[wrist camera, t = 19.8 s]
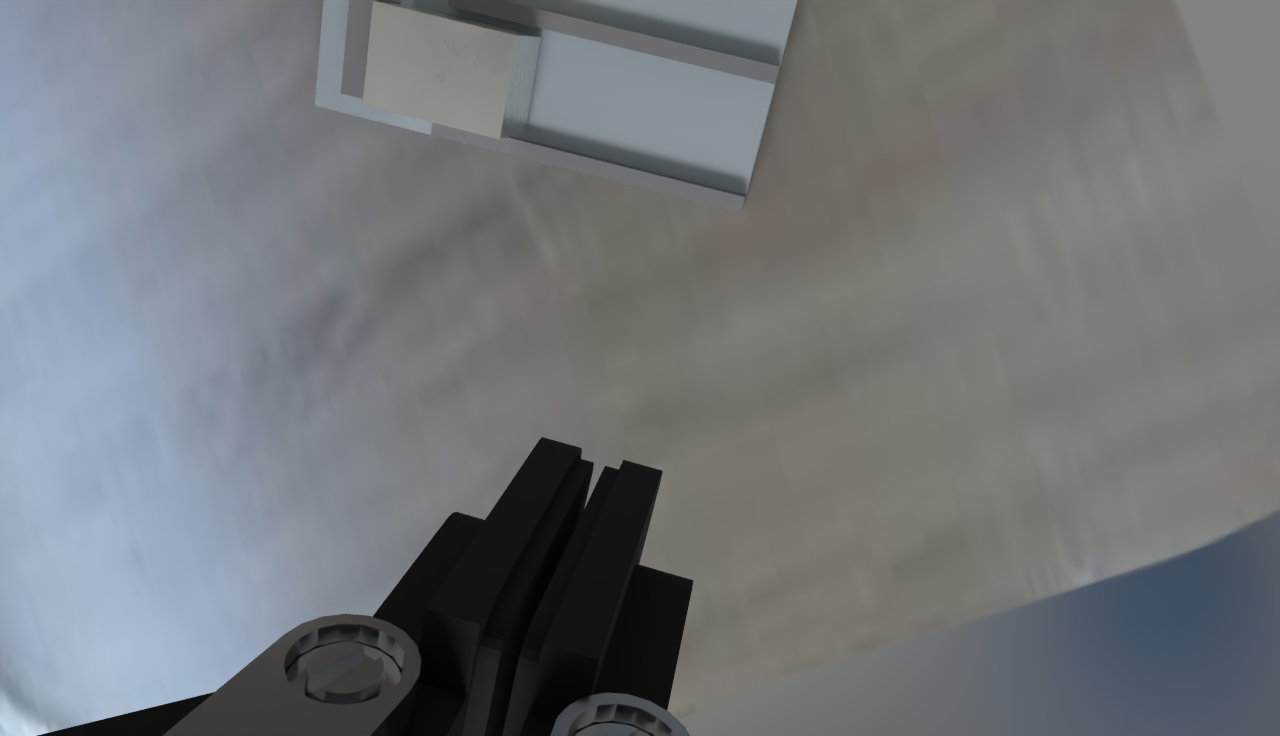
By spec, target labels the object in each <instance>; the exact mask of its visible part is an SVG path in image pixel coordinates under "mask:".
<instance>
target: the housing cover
mask: <svg viewBox="0 0 1280 736" xmlns="http://www.w3.org/2000/svg"><path fill="white" fill-rule="evenodd" d="M540 41H541V37H538V36H534V35H530V34H526V33H522V32H518V31H513V30H509V29H505V28H501V27H497V26H493V25H488V24H484V23H480V22H476V21H472V20H468V19H464V18H459V17H455V16H451V15H447V14H443V13H439V12H434V11H430V10H426V9H422V8H418V7H414V6H409V5H401V4H393V3H385V2H377V1H373V5H372V15H371V25H370V35H369V44H368V54H367V64H366V74H365V84H364V94H363V104H362V105H365V106H369V107H373V108H376V109H380V110H384V111H388V112H392V113H396V114H400V115H404V116H408V117H412V118H416V119H420V120H424V121H428V122H432V123H436V124H440V125H444V126H448V127H452V128H456V129H460V130H464V131H468V132H472V133H476V134H480V135H484V136H488V137H492V138H496V139H503V138H507V137H511V136H514V135H518V134H521V133H525V130H526V124H527V118H528V113H529V107H530V101H531V95H532V89H533V83H534V77H535V71H536V65H537V59H538V53H539V47H540Z"/></svg>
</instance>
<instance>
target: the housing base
mask: <svg viewBox="0 0 1280 736" xmlns="http://www.w3.org/2000/svg"><path fill="white" fill-rule="evenodd" d="M373 1H377V2H385V3H393V4H401V5H409V6H414V7H418V8H422V9H426V10H430V11H434V12H439V13H443V14H447V15H451V16H455V17H459V18H464V19H468V20H472V21H476V22H480V23H484V24H488V25H493V26H497V27H501V28H505V29H509V30H513V31H518V32H522V33H526V34H530V35H534V36H538V37H541V41H540V47H539V53H538V59H537V65H536V71H535V77H534V83H533V89H532V95H531V101H530V107H529V113H528V118H527V124H526V130H525V133H521V134H518V135H514V136H511V137H507V138H503V139H496V138H492V137H488V136H484V135H480V134H476V133H472V132H468V131H464V130H460V129H456V128H452V127H448V126H444V125H440V124H436V123H432V122H428V121H424V120H420V119H416V118H412V117H408V116H404V115H400V114H396V113H392V112H388V111H384V110H380V109H376V108H373V107H369V106H365V105H362V104H363V94H364V84H365V74H366V64H367V54H368V44H369V35H370V25H371V15H372V5H373ZM797 4H798V0H323V12H322V24H321V36H320V48H319V61H318V73H317V85H316V97H315V106H319V107H323V108H327V109H331V110H335V111H338V112H342V113H346V114H350V115H354V116H358V117H362V118H366V119H370V120H374V121H378V122H382V123H386V124H390V125H394V126H398V127H402V128H406V129H410V130H414V131H418V132H422V133H425V134H429V135H433V136H437V137H441V138H445V139H449V140H453V141H457V142H460V143H464V144H468V145H472V146H476V147H480V148H484V149H488V150H492V151H496V152H500V153H504V154H508V155H512V156H516V157H520V158H524V159H528V160H532V161H536V162H540V163H543V164H547V165H551V166H555V167H559V168H563V169H567V170H571V171H575V172H579V173H583V174H587V175H591V176H595V177H599V178H603V179H607V180H611V181H615V182H619V183H623V184H627V185H630V186H634V187H638V188H642V189H646V190H650V191H654V192H658V193H662V194H666V195H670V196H674V197H678V198H682V199H686V200H690V201H694V202H698V203H702V204H706V205H710V206H714V207H717V208H721V209H725V210H729V211H733V212H737V213H742V210H743V208H744V205H745V201H746V197H747V194H748V190H749V186H750V182H751V178H752V175H753V171H754V167H755V163H756V159H757V156H758V152H759V148H760V144H761V140H762V137H763V133H764V129H765V125H766V121H767V118H768V114H769V110H770V106H771V103H772V99H773V95H774V91H775V87H776V84H777V80H778V76H779V72H780V68H781V65H782V61H783V57H784V53H785V49H786V46H787V42H788V38H789V34H790V31H791V27H792V23H793V19H794V15H795V12H796V8H797Z"/></svg>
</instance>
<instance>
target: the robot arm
mask: <svg viewBox="0 0 1280 736" xmlns="http://www.w3.org/2000/svg"><path fill="white" fill-rule="evenodd" d="M581 453H582V449H581V448H579V447H575V446H572V445H568V444H565V443H561V442H558V441H554V440H550V439H547V438H543V437H542V438H541V439H540V440H539V441H538V443H537V444H536V446H535V447H534V449H533V450H532V452H531V453H530V455H529V456H528V458H527V459H526V461H525V462H524V464H523V465H522V467H521V468H520V470H519V471H518V472H517V474H516V475H515V477H514V478H513V480H512V481H511V483H510V484H509V486H508V487H507V489H506V490H505V492H504V493H503V495H502V496H501V498H500V499H499V500H498V502H497V503H496V505H495V506H494V508H493V509H492V511H491V512H490V514H489V515H488V517H487V518H486V520H483V519H479V518H476V517H472V516H469V515H465V514H462V513H459V512H454V513H452V514H451V515H450V516H449V517H448V518H447V520H446V521H445V522H444V524H443V525H442V526H441V528H440V529H439V530H438V531H437V533H436V534H435V535H434V537H433V538H432V539H431V541H430V542H429V543H428V545H427V546H426V547H425V549H424V550H423V551H422V553H421V554H420V555H419V556H418V558H417V559H416V560H415V562H414V563H413V564H412V566H411V567H410V568H409V570H408V571H407V572H406V574H405V575H404V576H403V577H402V579H401V580H400V581H399V583H398V584H397V585H396V587H395V588H394V589H393V591H392V592H391V593H390V595H389V596H388V597H387V598H386V600H385V601H384V602H383V604H382V605H381V606H380V608H379V609H378V610H377V612H376V613H375V614H374V616H373V617H371V616H365V615H353V614H341V615H332V616H324V617H320V618H317V619H314V620H311V621H308V622H305V623H302V624H300V625H299V626H297V627H296V628H294V629H292V630H291V631H289V632H288V633H286V634H284V635H283V636H282V637H281V638H280V639H278V640H277V641H276V642H275V643H274V644H272V645H271V646H270V647H269V648H267V649H266V650H265V651H264V652H263V653H261V654H260V655H259V656H258V657H257V658H255V659H254V660H253V661H252V662H251V663H249V664H248V665H247V666H246V667H245V668H243V669H242V670H241V671H240V672H239V673H237V674H236V675H235V676H234V677H233V678H231V679H230V680H229V681H228V682H227V683H225V684H224V685H223V686H222V687H220V688H219V689H218V690H217V691H216V692H213V693H209V694H205V695H201V696H197V697H193V698H189V699H185V700H181V701H177V702H172V703H168V704H164V705H160V706H156V707H152V708H148V709H144V710H140V711H136V712H132V713H128V714H124V715H120V716H115V717H111V718H107V719H103V720H99V721H95V722H91V723H87V724H83V725H79V726H75V727H71V728H67V729H63V730H58V731H54V732H50V733H46V734H42V735H38V736H690V735H689V733H688V732H687V730H686V728H685V727H684V726H683V725H682V724H681V723H680V722H679V721H678V720H677V719H676V718H675V717H674V716H673V715H672V714H671V713H669V712H668V711H667V709H668V704H669V699H670V694H671V689H672V684H673V679H674V674H675V669H676V664H677V660H678V655H679V650H680V645H681V640H682V635H683V630H684V625H685V620H686V615H687V610H688V606H689V601H690V596H691V591H692V585H693V580H690V579H687V578H683V577H680V576H676V575H673V574H669V573H666V572H662V571H659V570H656V569H652V568H649V567H645V566H642V565H639V562H640V558H641V554H642V551H643V547H644V543H645V539H646V535H647V531H648V527H649V523H650V520H651V516H652V512H653V508H654V504H655V500H656V496H657V493H658V489H659V485H660V481H661V477H662V472H663V471H661V470H658V469H654V468H651V467H647V466H643V465H640V464H636V463H633V462H629V461H626V460H623V462H622V464H621V467H620V469H619V470H618V469H615V468H611V467H608V466H605V467H604V469H603V471H602V474H601V476H600V478H599V480H598V482H597V484H596V486H595V488H594V490H593V492H592V495H591V497H590V499H589V501H588V503H587V505H586V507H585V503H586V499H587V494H588V490H589V485H590V481H591V477H592V472H593V466H594V463H593V462H590V461H586V460H583V459H581ZM584 508H585V509H584Z"/></svg>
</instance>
